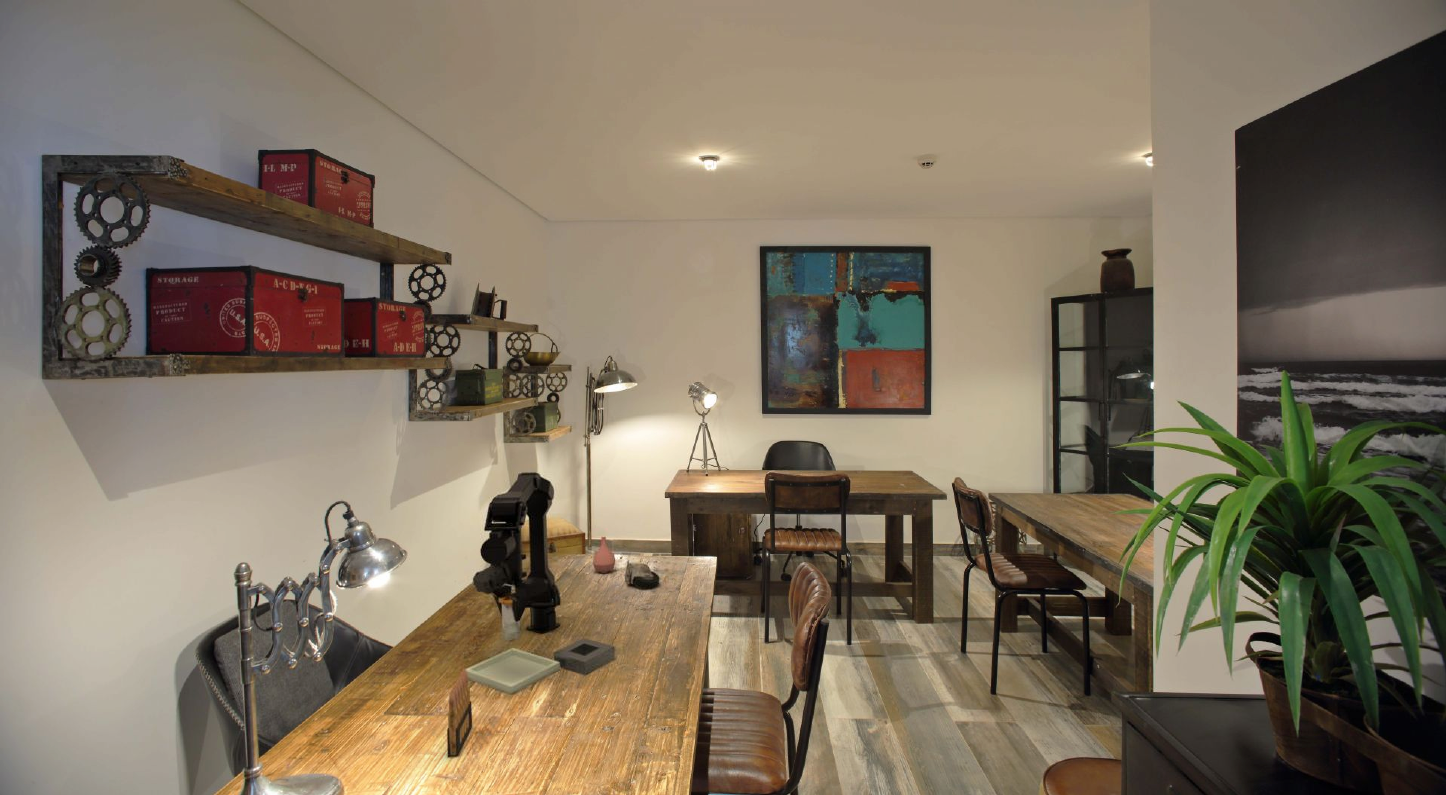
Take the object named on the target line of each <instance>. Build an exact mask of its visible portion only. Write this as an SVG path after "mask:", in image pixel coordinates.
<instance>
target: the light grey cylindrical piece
mask: <svg viewBox="0 0 1446 795" xmlns="http://www.w3.org/2000/svg"><path fill="white" fill-rule="evenodd" d="M512 593H515V591H511V592H508V593H504V594H501V595H500V596H499V602H500V603H502V616H501V621H502V622H501V625H502V639H503V640H505V641H506V640H507V641H510V640H511V641H512V640H516V639H518V638H520V636H521V620H520V621H517V622H516V621H515V616H514V607H513V600H512V599H511V598H510V597H509V596H508V595H510V594H512Z"/></svg>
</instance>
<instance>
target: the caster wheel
mask: <svg viewBox="0 0 1446 795" xmlns="http://www.w3.org/2000/svg"><path fill="white" fill-rule="evenodd" d="M629 560H630V559H627V562H626V567H625V568H626V569H625V573H624V580H625V583H626V586H627V588H629V584H630V583H631V584H632V585H634V586H635V587H638V589H642V590H654V589H656V588H657V587H659V583H660V576H659V574H658V573H656V572H654V571H652V570H651V568H650V566H649V565H647V564H646V563H641V562H640V563H639V562H630V561H629Z"/></svg>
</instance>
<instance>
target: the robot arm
mask: <svg viewBox="0 0 1446 795" xmlns="http://www.w3.org/2000/svg"><path fill="white" fill-rule="evenodd" d="M554 497H555V489H554V486H553V484H552V482H551V481H550V480H548V479H547V478H545V477H542V476H541V473H539V472H536V471H534V472H533V471H531V472H521V473H518V475H517V479H516V480H515V481H514V483H513V484H512V485H511V486H510V488H509V489H508V490H507V492H504V493H499V494H497V495H496V496H494V497H493V498H492V499H491V501H490V502H489V504H488V509H487V512H486V518H485V523H484V528H483V529H484V532H489V534H488V536H489V537H488V538H487V539H486V540H485V541H484V542H483V543H482V544H481V547H480V551H479V552H480V556H481V559H482V560H483V561H484V562H486V564H489V565H490V566H488V567H486V568H484V569H483V570H480V571H477V572H476V573H475V575H474V576H473V577H472V581H473V586H475V589H476V592H478V593H484V594H486V595H491V596H493V598H494V601H495V603H496V606H497V608H498V611H499V614H500V616H501V617H502V603H500V602H499V596H500V595H501V594H504V593H508V592H512V590H511V589H512V587H515V589H514V592H515V593H512V594H510V595H508V596H509V597H510V598H511V599H512V600H513V607H514V616H515V621H516V622H517V621H520V622H521V619H522V617H523V615H524V612H525V611H526V609H530V610H529V612H530V613H529V614H530V625H527V626H526V627H525V629H526V630H529V631H533V632H536V633H539V634H545V633H547V632H549V631H551V630H553V629H555V628H556V629H557V628H558V627H559V626H561V623H559V622H557V612H556V608H557V607H558V606H561V605H562V602H561V600H562V599H561V593H560V589H559V588H558V586H557V584H556V579H555V575H554V574H553V572H552V571H551V570H550V569H549V558H548V553H549V552H548V551H549V550H548V527H547V519H548V518H547V514H548V512H549V510H550V508H551V507H552V505H553V500H554ZM527 517H528V535H529V540H528V541H529V562H530V564H529V567H530V568H529V569H530V570H529V571H530V572H529V573H528V574H527V571H524V569H523V561H524V560H527V554H525V553H523V547H522V546H523V544H522V543H523V542H522V540H523V539H522V528H523V526H525V522H526V518H527ZM493 522H494V523H493ZM496 522H506V523H496ZM523 578H526V579H523Z"/></svg>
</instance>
